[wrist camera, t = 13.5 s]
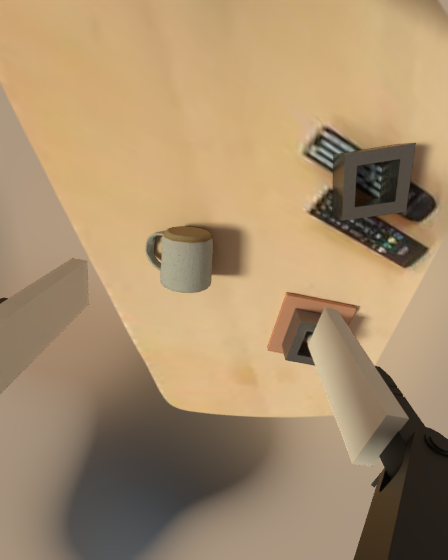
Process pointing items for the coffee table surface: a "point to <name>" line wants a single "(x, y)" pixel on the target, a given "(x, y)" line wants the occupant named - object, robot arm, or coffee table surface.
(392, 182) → the grey square hollow block
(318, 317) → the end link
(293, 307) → the brown base with peg
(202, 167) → the coffee table surface
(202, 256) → the ceramic mug
